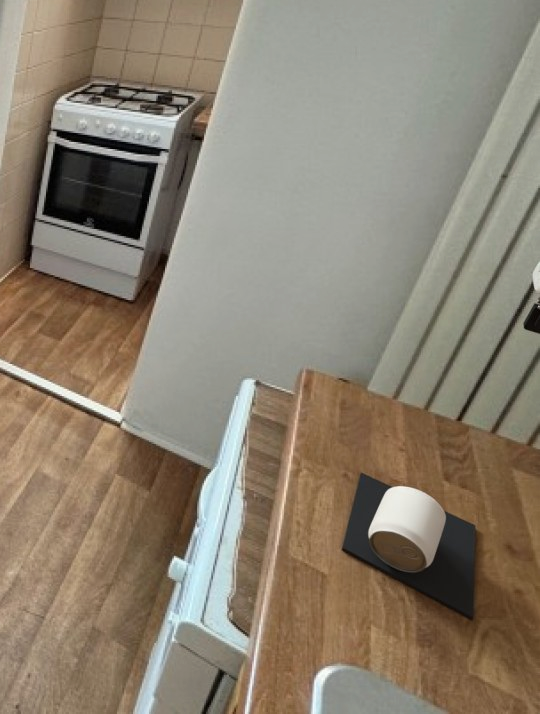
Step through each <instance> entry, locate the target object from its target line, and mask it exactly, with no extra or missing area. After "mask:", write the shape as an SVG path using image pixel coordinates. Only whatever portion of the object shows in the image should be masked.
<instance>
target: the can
mask: <svg viewBox="0 0 540 714" xmlns="http://www.w3.org/2000/svg"><path fill="white" fill-rule="evenodd" d="M444 511H445V510H444V508H443V507H442V506H441V505H440V504H439V502H438V501H437V500H436V499H434V498H433V497H432V496H430V495H429V494H427V493H426V492H424V491H422V490H420V489H417V488H414V487H409V486H404V485H398V486H392V488H390V489H389V490H387V491H386V493H385V494H384V497H383V499H382V501H381V503H380V505H379V507H378V510H377V512H376V514H375V516H374V518H373V521H372V523H371V525H370V528H369V532H368V535H369V539H370V540H369V541H370V546H371V548H372V550H373V551H374V553H375V554H376V555H377V556H378V557H379V558H380V559H381V560H382V561H383V562H385V563H386V564H388V565H390V566H391V567H393V568H395V569H398V570H401V571H404V572H411V573H415V572H420V571H422V570H423V569H425V568H426V567H428V566H429V565H430V564H431V563H432V561H433V559H434V556H435V553H436V550H437V547H438V544H439V541H440V538H441V534H442V531H443V528H444V525H445V521H446V515H445V512H444Z"/></svg>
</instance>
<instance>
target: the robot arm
mask: <svg viewBox="0 0 540 714" xmlns="http://www.w3.org/2000/svg"><path fill="white" fill-rule="evenodd" d="M532 282H533V283H532V284H533V288H534V291H535V292H536V293H537V294H539V296H538V298H537V300H536V302H534V303H533V305H532V306H531V308H530V310H529V312H528V314H527V315H526V317H525V319H524V321H523V322H522V323H523V329H524V330H526V331H529V332H532V333H535V334H537V335H540V261H538V263H537V265H536V266H535V268H534V270H533V272H532Z"/></svg>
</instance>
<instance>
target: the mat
mask: <svg viewBox="0 0 540 714" xmlns="http://www.w3.org/2000/svg"><path fill="white" fill-rule="evenodd" d="M392 487H393V486H392V485H389V484H388V483H386V482H383V481H381V480H378V479H377V478H374V477H372V476H370V475H368V474H365V473H363V472H360V474H359V478H358V481H357V486H356V490H355V494H354V498H353V502H352V505H351V510H350V513H349V518H348V522H347V526H346V531H345V534H344V538H343V542H342V547H341V551H343V552H344V553H346V554H348V555H350V556H352V557H354V558H357V559H358V560H359V561H362V562H363V563H365V564H367V565H369V566H370V567H372V568H374V569H376V570H378V571H379V572H382V573H383V574H384V575H388V576H389V577H390V578H393V579H395V580H396V581H398V582H400V583H402V584H404V585H406V586H408V587H410V588H411V589H413V590H415V591H417V592H419V593H421V594H422V595H424V596H426V597H428V598H430V599H432V600H434V601H435V602H438V603H439V604H441V605H443V606H445V607H446V608H449V609H450V610H452V611H454V612H456V613H458V614H460V615H461V616H463V617H466V618H467V619H469V620H471V621H472V620H474V611H475V609H474V608H475V567H476V565H475V564H476V562H475V561H476V524H474V523H472V522H470V521H467V520H465V519H463V518H461V517H458V516H456V515H454V514H452V513H450V512H448V511H446V510H444V512H445V515H446V521H445V525H444V528H443V531H442V534H441V538H440V541H439V544H438V547H437V550H436V553H435V556H434V559H433V561H432V563H431V564H430V565H429V566H428V567H426V568H425V569H423V570H422V571H420V572H415V573H411V572H404V571H401V570H398V569H395V568H393V567H391V566H390V565H388V564H386V563H385V562H383V561H382V560H381V559H380V558H379V557H378V556H377V555H376V554H375V553H374V551H373V550H372V548H371V546H370V541H369V540H370V539H369V535H368V532H369V528H370V525H371V523H372V521H373V518H374V516H375V514H376V512H377V510H378V507H379V505H380V503H381V501H382V499H383V497H384V494H385V493H386V491H387V490H389V489H390V488H392Z"/></svg>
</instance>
